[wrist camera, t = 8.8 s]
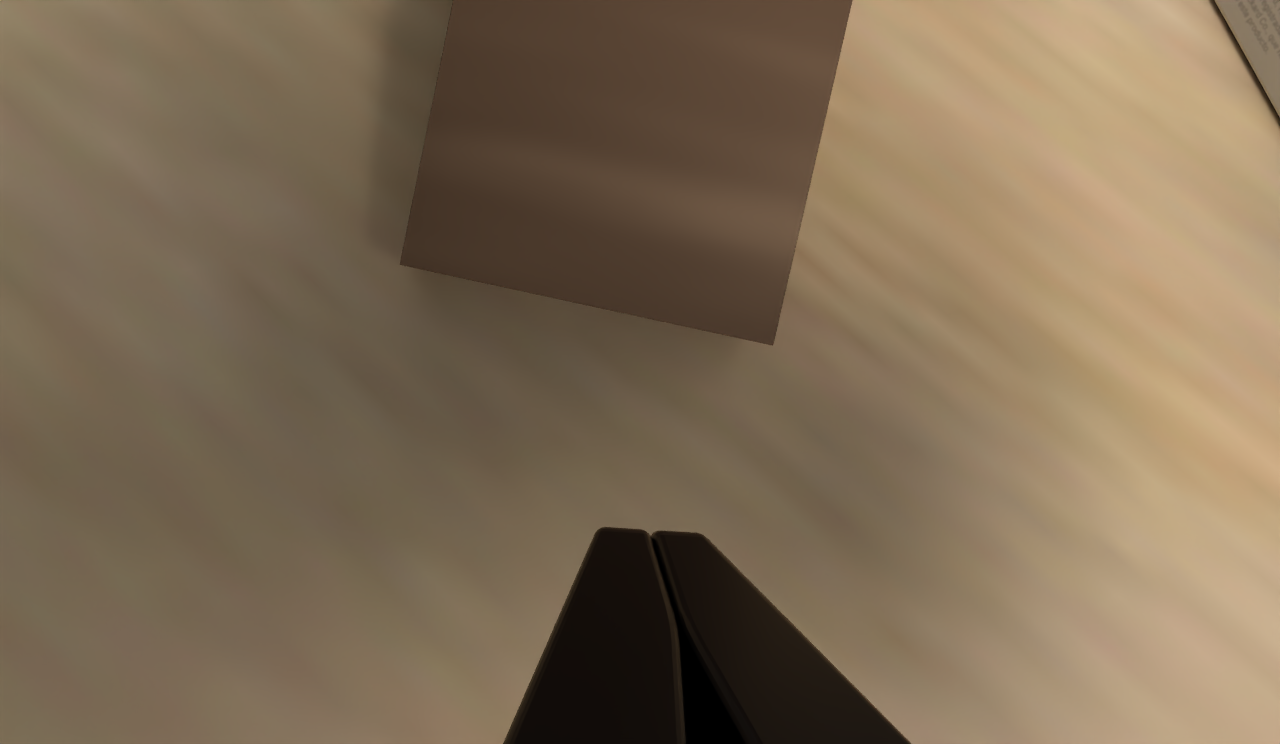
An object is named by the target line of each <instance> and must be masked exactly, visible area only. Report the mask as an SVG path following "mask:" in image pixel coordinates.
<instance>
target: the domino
mask: <svg viewBox="0 0 1280 744" xmlns="http://www.w3.org/2000/svg"><path fill="white" fill-rule="evenodd" d="M851 4H852V0H453V4H452V9H451V14H450V19H449V24H448V29H447V34H446V39H445V44H444V49H443V54H442V59H441V64H440V69H439V73H438V78H437V83H436V88H435V93H434V98H433V103H432V108H431V113H430V118H429V123H428V128H427V133H426V138H425V143H424V148H423V153H422V157H421V162H420V167H419V172H418V177H417V182H416V187H415V192H414V197H413V202H412V207H411V212H410V217H409V222H408V227H407V232H406V237H405V242H404V246H403V251H402V256H401V261H400V265H404V266H409V267H413V268H418V269H422V270H427V271H432V272H436V273H441V274H445V275H450V276H455V277H459V278H464V279H469V280H473V281H478V282H482V283H487V284H492V285H496V286H501V287H505V288H510V289H515V290H519V291H524V292H528V293H533V294H538V295H542V296H547V297H552V298H556V299H561V300H565V301H570V302H575V303H579V304H584V305H588V306H593V307H598V308H602V309H607V310H612V311H616V312H621V313H625V314H630V315H635V316H639V317H644V318H648V319H653V320H658V321H662V322H667V323H672V324H676V325H681V326H685V327H690V328H695V329H699V330H704V331H708V332H713V333H718V334H722V335H727V336H731V337H736V338H741V339H745V340H750V341H755V342H759V343H764V344H768V345H773V343H774V339H775V334H776V330H777V326H778V321H779V317H780V313H781V308H782V304H783V299H784V295H785V291H786V286H787V282H788V278H789V273H790V269H791V265H792V260H793V256H794V252H795V247H796V243H797V239H798V234H799V230H800V226H801V221H802V217H803V213H804V208H805V204H806V200H807V195H808V191H809V187H810V182H811V178H812V173H813V169H814V165H815V160H816V156H817V152H818V147H819V143H820V139H821V134H822V130H823V126H824V121H825V117H826V113H827V108H828V104H829V100H830V95H831V91H832V87H833V82H834V78H835V74H836V69H837V65H838V60H839V56H840V52H841V47H842V43H843V39H844V34H845V30H846V26H847V21H848V17H849V13H850V8H851Z"/></svg>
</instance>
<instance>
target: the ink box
mask: <svg viewBox="0 0 1280 744" xmlns="http://www.w3.org/2000/svg"><path fill="white" fill-rule="evenodd" d="M1214 1H1215V2H1216V4H1217V6H1218V8H1219V9H1220V11H1221V13H1222V15H1223V16H1224V18H1225V20H1226V22H1227V24H1228V25H1229V27H1230V29H1231V31H1232V32H1233V34H1234V36H1235V38H1236V40H1237V41H1238V43H1239V45H1240V47H1241V49H1242V50H1243V52H1244V54H1245V56H1246V58H1247V59H1248V61H1249V63H1250V65H1251V67H1252V68H1253V70H1254V72H1255V74H1256V76H1257V77H1258V79H1259V81H1260V83H1261V85H1262V86H1263V88H1264V90H1265V92H1266V94H1267V95H1268V97H1269V99H1270V101H1271V103H1272V104H1273V106H1274V108H1275V110H1276V112H1277V113H1278V115H1279V117H1280V0H1214Z"/></svg>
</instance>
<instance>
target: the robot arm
mask: <svg viewBox="0 0 1280 744" xmlns="http://www.w3.org/2000/svg"><path fill="white" fill-rule="evenodd" d="M503 744H911V743H910V742H909V741H908V740H907V739H906V738H905V737H904V736H903V735H902V734H901V733H900V732H899V731H898V730H897V729H896V728H895V727H894V726H893V725H892V724H891V723H890V722H889V721H888V720H887V719H886V718H885V717H884V716H883V715H882V714H881V713H880V712H879V711H878V710H877V709H876V708H875V707H874V706H873V705H872V704H871V703H870V701H869V700H868V699H867V698H866V697H865V696H864V695H863V694H862V693H861V692H860V691H859V690H858V689H857V688H856V687H855V686H854V685H853V684H852V683H851V682H850V681H849V680H848V679H847V678H846V677H845V676H844V675H843V674H842V673H841V672H840V671H839V670H838V669H837V668H836V667H835V666H834V665H833V664H832V663H831V662H830V661H829V660H828V659H827V658H826V657H825V656H824V655H823V654H822V653H821V652H820V651H819V650H818V649H817V648H816V647H815V646H814V645H813V644H812V643H811V642H810V641H809V640H808V639H807V638H806V637H805V636H804V635H803V634H802V633H801V632H800V631H799V630H798V629H797V628H796V627H795V626H794V625H793V624H792V623H791V622H790V621H789V620H788V619H787V618H786V617H785V616H784V615H783V614H782V613H781V612H780V611H779V610H778V609H777V608H776V607H775V606H774V605H773V604H772V603H771V602H770V601H769V600H768V599H767V598H766V597H765V596H764V595H763V594H762V593H761V592H760V591H759V590H758V589H757V588H756V587H755V586H754V585H753V584H752V583H751V582H750V581H749V580H748V579H747V578H746V577H745V576H744V575H743V574H742V573H741V572H740V571H739V570H738V569H737V568H736V567H735V566H734V565H733V564H732V563H731V562H730V561H729V560H728V559H727V558H726V557H725V556H724V555H723V554H722V553H721V552H720V551H719V550H718V549H717V548H716V547H715V546H714V545H713V544H712V543H711V542H710V541H709V539H707V538H706V537H705V536H703V535H702V534H699V533H691V532H675V531H656V532H654V533H653V534H652V535H651V536H650V535H649V533H647V532H646V531H644V530H641V529H627V528H611V527H602V528H600V529H598V530H597V531H596V533H595V535H594V537H593V539H592V541H591V544H590V546H589V548H588V551H587V553H586V555H585V557H584V560H583V562H582V564H581V567H580V569H579V571H578V574H577V576H576V578H575V580H574V583H573V585H572V587H571V590H570V592H569V594H568V596H567V599H566V601H565V603H564V606H563V608H562V610H561V612H560V615H559V617H558V619H557V622H556V624H555V626H554V628H553V631H552V633H551V635H550V638H549V640H548V642H547V645H546V647H545V649H544V651H543V654H542V656H541V658H540V661H539V663H538V665H537V667H536V670H535V672H534V674H533V677H532V679H531V681H530V683H529V686H528V688H527V690H526V693H525V695H524V697H523V699H522V702H521V704H520V706H519V709H518V711H517V713H516V716H515V718H514V720H513V722H512V725H511V727H510V729H509V732H508V734H507V736H506V738H505V741H504V743H503Z"/></svg>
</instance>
